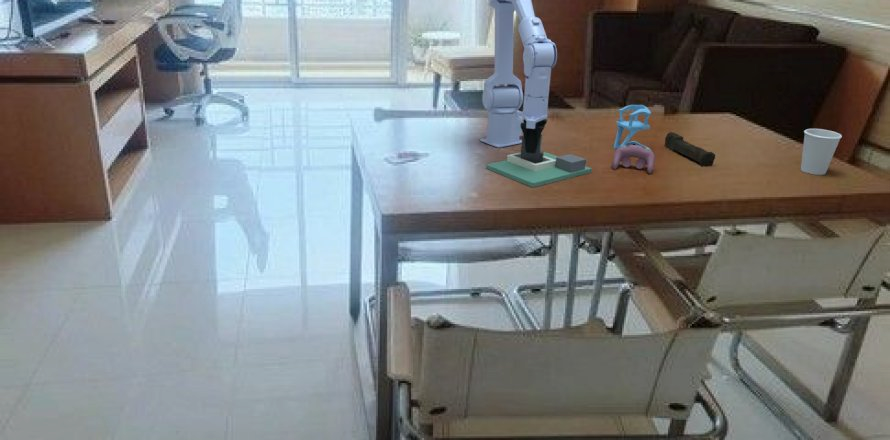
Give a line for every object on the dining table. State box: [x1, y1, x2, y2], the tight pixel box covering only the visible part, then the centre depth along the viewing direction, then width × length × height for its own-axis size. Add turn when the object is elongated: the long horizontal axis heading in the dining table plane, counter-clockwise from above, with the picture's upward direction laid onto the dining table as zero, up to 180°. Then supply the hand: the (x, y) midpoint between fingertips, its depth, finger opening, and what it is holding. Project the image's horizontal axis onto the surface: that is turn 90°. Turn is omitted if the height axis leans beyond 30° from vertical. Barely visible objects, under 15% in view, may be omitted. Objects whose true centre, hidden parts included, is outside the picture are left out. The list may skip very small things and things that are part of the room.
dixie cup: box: [800, 128, 843, 176], centre depth 167 cm, size 8×8×10 cm
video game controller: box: [612, 145, 655, 175], centre depth 165 cm, size 10×5×7 cm, turn 71°
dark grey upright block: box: [519, 134, 545, 164], centre depth 162 cm, size 3×6×7 cm, turn 76°
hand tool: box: [664, 131, 716, 167], centre depth 177 cm, size 19×4×5 cm, turn 14°
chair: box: [613, 104, 652, 150], centre depth 180 cm, size 8×8×12 cm
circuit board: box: [485, 151, 593, 188], centre depth 161 cm, size 20×16×4 cm
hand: (531, 150), depth 162 cm, fingers closed on dark grey upright block, 3 cm apart
